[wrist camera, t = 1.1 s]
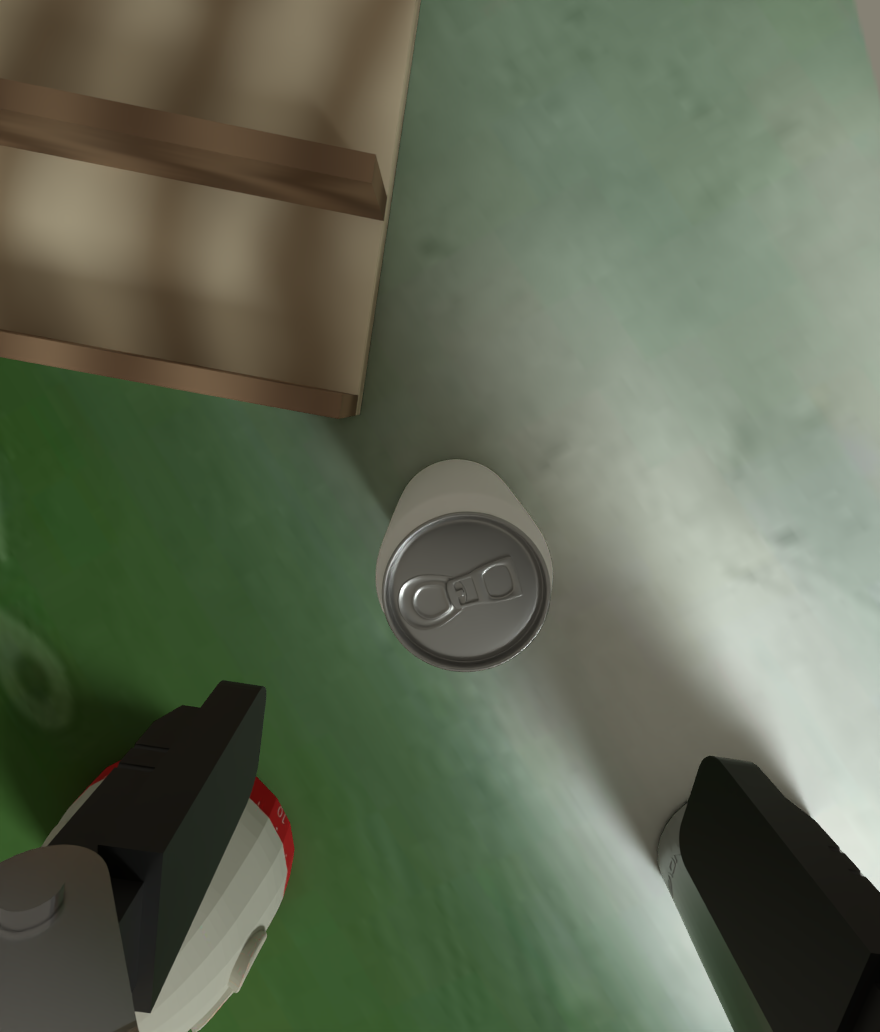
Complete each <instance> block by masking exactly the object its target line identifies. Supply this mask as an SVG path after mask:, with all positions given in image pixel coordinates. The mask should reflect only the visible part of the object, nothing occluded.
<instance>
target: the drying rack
mask: <svg viewBox="0 0 880 1032" xmlns="http://www.w3.org/2000/svg"><path fill="white" fill-rule="evenodd" d="M420 3H421V0H0V357H4V358H9V359H15V360H20V361H26V362H31V363H37V364H42V365H48V366H53V367H58V368H64V369H69V370H75V371H80V372H86V373H91V374H97V375H102V376H107V377H113V378H118V379H124V380H129V381H135V382H140V383H146V384H151V385H157V386H162V387H167V388H173V389H178V390H184V391H189V392H195V393H200V394H206V395H211V396H217V397H222V398H227V399H233V400H238V401H244V402H249V403H255V404H260V405H266V406H271V407H277V408H282V409H287V410H293V411H298V412H304V413H309V414H315V415H320V416H326V417H331V418H337V419H341V418H346V417H351V416H355V415H360V410H361V404H362V397H363V390H364V383H365V376H366V370H367V363H368V356H369V349H370V343H371V336H372V329H373V322H374V315H375V309H376V302H377V295H378V288H379V281H380V275H381V268H382V261H383V254H384V247H385V241H386V234H387V227H388V220H389V213H390V207H391V200H392V193H393V186H394V180H395V173H396V166H397V159H398V152H399V146H400V139H401V132H402V125H403V118H404V112H405V105H406V98H407V91H408V84H409V78H410V71H411V64H412V57H413V51H414V44H415V37H416V30H417V23H418V17H419V10H420Z"/></svg>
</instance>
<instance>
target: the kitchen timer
mask: <svg viewBox="0 0 880 1032" xmlns="http://www.w3.org/2000/svg"><path fill="white" fill-rule="evenodd" d="M120 761H121V760H120ZM120 761H118V762H116V763H114V764H113V765H111V766H109V767H107V768H106V769H105V770H104V771H103V772H102V773H101V774H100V775H99V776H98V777H97V778H96V779H95V780H94V781H93V782H92V783H91V784H90V785H89V786H88V787H87V788H86V789H85V791H84V792H83V793H82V794H81V795H80V796H79V797H78V798H77V799H76V801H75V802H74V803H73V804H72V805H71V806H70V807H69V809H68V810H67V811H66V813H65V814H64V815H63V817H62V818H61V820H60V822H59V823H58V825H57V826H56V827H55V828H54V829H53V830H52V831H51V833H50V834H49V835H48V837H47V838H46V840H45V842H44V843H43V845H42V846H41V847H45V846H47V845H48V844H49V843H50V842H51V841H52V839H53V838H54V837H55V836H56V835H57V834H58V832H59V831H60V830H61V829H62V828H63V827H64V825H65V824H66V823H67V822H68V821H69V820H70V819H71V817H72V816H73V815H74V814H75V813H76V812H77V810H78V809H79V808H80V807H81V806H82V805H83V803H84V802H85V801H86V800H87V799H88V798H89V797H90V795H91V794H92V793H93V792H94V791H95V790H96V788H97V787H98V786H99V785H100V784H101V783H102V781H103V780H104V779H105V778H106V777H107V776H108V774H109V773H110V772H111V771H112V770H113V769H114V768H115V767H116V768H117V767H118V765H119V762H120ZM293 855H294V844H293V838H292V832H291V826H290V822H289V820H288V818H287V816H286V815H285V813H284V811H283V809H282V807H281V805H280V803H279V801H278V799H277V798H276V797H275V795H274V794H273V793H272V792H271V791H270V790H269V789H268V788H267V787H266V786H265V785H264V784H263V783H262V782H261V781H260V780H259V779H258V778H257V777H255V781H254V785H253V788H252V792H251V795H250V797H249V800H248V802H247V805H246V807H245V809H244V811H243V814H242V816H241V818H240V820H239V822H238V824H237V827H236V829H235V831H234V833H233V835H232V837H231V840H230V842H229V844H228V846H227V848H226V850H225V853H224V855H223V857H222V859H221V861H220V864H219V866H218V868H217V870H216V872H215V874H214V877H213V879H212V881H211V883H210V885H209V887H208V890H207V892H206V894H205V896H204V898H203V900H202V903H201V905H200V907H199V909H198V911H197V914H196V916H195V918H194V920H193V922H192V924H191V927H190V929H189V931H188V933H187V935H186V937H185V940H184V942H183V944H182V946H181V948H180V951H179V953H178V955H177V957H176V959H175V961H174V964H173V966H172V968H171V970H170V972H169V974H168V977H167V979H166V981H165V983H164V985H163V987H162V990H161V992H160V994H159V996H158V998H157V1001H156V1003H155V1005H154V1007H153V1009H152V1011H151V1013H143V1012H135V1015H136V1020H137V1025H138V1029H139V1032H187V1031H188V1030H189V1029H191V1030H192V1032H197V1031H198V1030H200V1029H201V1028H202V1027H203V1026H204V1025H205V1024H206V1023H207V1022H208V1021H209V1020H210V1019H211V1018H212V1017H213V1015H214V1014H215V1013H216V1012H217V1011H218V1010H219V1008H220V1007H221V1006H222V1005H223V1004H224V1002H225V1001H226V1000H227V999H228V998H229V997H230V996H231V994H232V993H233V992H235V993H237V992H239V990H240V988H241V986H242V984H243V982H244V980H245V978H246V976H247V974H248V972H249V970H250V968H251V966H252V964H253V962H254V960H255V958H256V956H257V955H258V953H259V951H260V949H261V947H262V945H263V943H264V941H265V939H266V937H267V933H266V932H265V931H266V930H267V928H268V926H269V924H270V923H271V921H272V919H273V917H274V915H275V914H276V912H277V910H278V908H279V905H280V903H281V901H282V899H283V896H284V892H285V889H286V886H287V883H288V880H289V877H290V872H291V866H292V861H293Z"/></svg>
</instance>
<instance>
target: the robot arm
mask: <svg viewBox="0 0 880 1032" xmlns="http://www.w3.org/2000/svg"><path fill="white" fill-rule="evenodd" d="M265 703H266V688H265V687H264V686H257V685H251V684H244V683H238V682H231V681H225V680H223V681H221V682H220V683H219V684H218V685H217V686H216V688H215V689H214V690H213V692H212V693H211V694H210V696H209V697H208V698H207V700H206V701H205V702H204V704H203V705H202V706H201V708H198V707H191V706H185V705H182V706H180V707H178V708H177V709H175V710H173V711H171V712H170V713H168V714H166V715H165V716H163V717H161V718H159V719H158V720H156V721H154V722H153V723H152V725H151V726H150V727H149V728H148V729H147V730H146V732H145V733H144V734H143V735H142V736H141V737H140V739H139V740H138V741H137V742H136V743H135V746H134V748H131V749H130V750H129V751H128V752H127V754H126V755H125V756H124V757H123V758H122V759H121V761H120V762H119V765H118V767H117V768H116V767H115V768H114V769H113V770H112V771H111V772H110V773H109V774H108V776H107V777H106V778H105V779H104V780H103V781H102V783H101V784H100V785H99V786H98V787H97V788H96V790H95V791H94V792H93V793H92V794H91V795H90V797H89V798H88V799H87V800H86V801H85V802H84V803H83V805H82V806H81V807H80V808H79V809H78V810H77V812H76V813H75V814H74V815H73V816H72V817H71V819H70V820H69V821H68V822H67V823H66V824H65V825H64V827H63V828H62V829H61V830H60V831H59V832H58V834H57V835H56V836H55V837H54V838H53V839H52V841H51V842H50V843H49V844H48V845H47V846H45V847H40V848H36V849H32V850H29V851H26V852H23V853H21V854H18V855H15V856H13V857H11V858H9V859H7V860H5V861H3V862H1V863H0V1032H139V1029H138V1025H137V1020H136V1015H135V1012H143V1013H151V1011H152V1009H153V1007H154V1005H155V1003H156V1001H157V998H158V996H159V994H160V992H161V990H162V987H163V985H164V983H165V981H166V979H167V977H168V974H169V972H170V970H171V968H172V966H173V964H174V961H175V959H176V957H177V955H178V953H179V951H180V948H181V946H182V944H183V942H184V940H185V937H186V935H187V933H188V931H189V929H190V927H191V924H192V922H193V920H194V918H195V916H196V914H197V911H198V909H199V907H200V905H201V903H202V900H203V898H204V896H205V894H206V892H207V890H208V887H209V885H210V883H211V881H212V879H213V877H214V874H215V872H216V870H217V868H218V866H219V864H220V861H221V859H222V857H223V855H224V853H225V850H226V848H227V846H228V844H229V842H230V840H231V837H232V835H233V833H234V831H235V829H236V827H237V824H238V822H239V820H240V818H241V816H242V814H243V811H244V809H245V807H246V805H247V802H248V800H249V797H250V795H251V792H252V788H253V785H254V781H255V777H256V773H257V768H258V762H259V754H260V745H261V737H262V729H263V720H264V712H265ZM657 853H658V865H659V868H660V871H661V874H662V877H663V879H664V881H665V884H666V886H667V888H668V890H669V892H670V894H671V897H672V899H673V901H674V903H675V905H676V907H677V909H678V912H679V914H680V916H681V918H682V920H683V922H684V925H685V927H686V929H687V931H688V933H689V936H690V938H691V940H692V942H693V944H694V947H695V949H696V951H697V953H698V955H699V957H700V959H701V962H702V964H703V966H704V968H705V970H706V972H707V974H708V977H709V979H710V981H711V983H712V985H713V987H714V989H715V992H716V994H717V996H718V998H719V1000H720V1002H721V1004H722V1007H723V1009H724V1011H725V1013H726V1015H727V1017H728V1019H729V1022H730V1024H731V1026H732V1028H733V1030H734V1032H880V892H879V891H878V890H877V889H876V888H875V887H874V885H873V884H872V883H871V882H870V881H869V880H868V879H867V878H866V877H864V876H863V875H862V873H861V872H860V870H859V869H858V868H857V867H856V865H855V864H854V863H853V862H852V861H851V860H850V859H849V858H848V857H847V855H846V854H845V853H843V852H842V851H841V850H840V849H839V847H838V845H837V844H836V843H835V842H834V841H833V840H832V839H831V838H830V837H829V835H828V834H827V833H826V832H825V831H824V830H823V829H822V828H821V827H820V825H819V824H818V823H817V822H816V821H815V820H814V819H812V818H811V817H810V816H808V815H807V814H806V813H805V812H803V811H802V810H801V809H799V808H798V807H797V806H795V805H794V804H793V803H792V802H790V801H789V800H788V799H786V798H785V797H784V796H783V794H782V793H781V792H780V791H779V790H778V789H777V788H776V786H775V785H774V784H773V783H772V782H771V781H770V780H769V778H768V777H767V776H766V775H765V774H764V773H763V772H762V771H761V769H760V768H759V767H758V766H757V765H755V764H754V763H752V762H748V761H741V760H735V759H728V758H721V757H715V756H708V757H706V758H704V759H703V761H702V762H701V764H700V766H699V769H698V772H697V775H696V778H695V782H694V785H693V788H692V791H691V794H690V797H689V800H688V803H687V804H685V805H684V806H683V807H682V808H681V809H680V810H679V811H677V812H676V813H675V814H674V815H673V817H672V818H671V819H670V821H669V822H668V823H667V825H666V826H665V828H664V831H663V833H662V835H661V837H660V841H659V846H658V851H657Z"/></svg>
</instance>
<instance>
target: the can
mask: <svg viewBox="0 0 880 1032" xmlns="http://www.w3.org/2000/svg"><path fill="white" fill-rule="evenodd" d="M552 586H553V566H552V560H551V556H550V552H549V549H548V546H547V543H546V541H545V539H544V537H543V535H542V533H541V531H540V530H539V528H538V527H537V525H536V523H535V522H534V521H533V519H532V518H531V516H530V515H529V514H528V512H527V511H526V510H525V508H524V507H523V506H522V504H521V503H520V502H519V500H518V499H517V498H516V496H515V495H514V494H513V492H512V491H511V490H510V489H509V487H508V486H507V485H506V484H505V482H504V481H503V480H502V479H501V478H500V477H499V476H498V475H497V474H496V473H494V472H493V471H492V470H490V469H489V468H487V467H485V466H483V465H481V464H479V463H476V462H473V461H469V460H462V459H451V460H444V461H440V462H437V463H434V464H432V465H430V466H428V467H426V468H425V469H423V470H422V471H420V472H419V473H418V474H417V475H415V476H414V477H413V478H412V480H411V481H410V482H409V483H408V485H407V486H406V488H405V489H404V491H403V493H402V495H401V497H400V499H399V501H398V504H397V506H396V509H395V511H394V513H393V516H392V518H391V521H390V523H389V526H388V528H387V531H386V533H385V536H384V539H383V541H382V544H381V547H380V551H379V554H378V558H377V564H376V589H377V594H378V598H379V602H380V605H381V607H382V610H383V612H384V614H385V616H386V619H387V621H388V624H389V626H390V628H391V630H392V631H393V633H394V635H395V636H396V638H397V639H398V640H399V641H400V643H401V644H402V645H403V646H404V647H405V648H406V649H407V650H408V651H409V652H411V653H412V654H413V655H414V656H416V657H417V658H419V659H421V660H422V661H424V662H426V663H428V664H430V665H433V666H435V667H438V668H441V669H445V670H450V671H458V672H473V671H481V670H486V669H490V668H493V667H496V666H499V665H501V664H503V663H505V662H507V661H509V660H511V659H512V658H514V657H515V656H517V655H518V654H520V653H521V652H522V651H523V650H524V649H525V648H526V647H527V646H528V645H529V644H530V643H531V642H532V641H533V640H534V638H535V637H536V636H537V634H538V633H539V631H540V630H541V628H542V626H543V624H544V622H545V619H546V617H547V613H548V610H549V605H550V598H551V592H552Z"/></svg>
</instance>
